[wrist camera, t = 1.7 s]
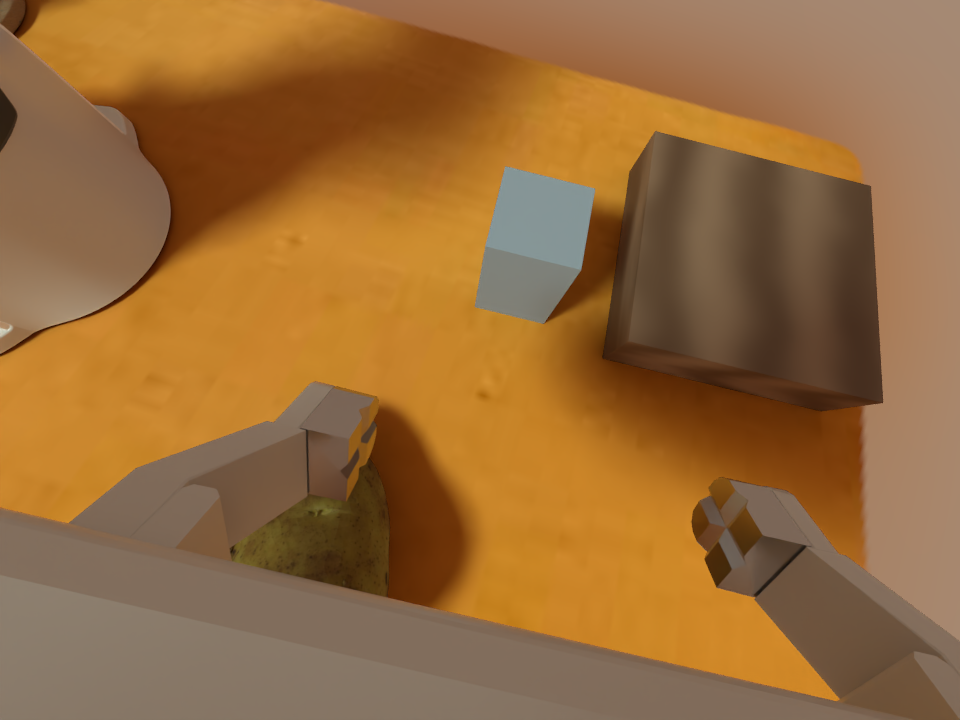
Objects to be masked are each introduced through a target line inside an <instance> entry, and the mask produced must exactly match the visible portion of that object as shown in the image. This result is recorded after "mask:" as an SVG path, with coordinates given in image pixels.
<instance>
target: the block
mask: <svg viewBox="0 0 960 720" xmlns="http://www.w3.org/2000/svg"><path fill="white" fill-rule="evenodd" d="M594 193H595V189H594V188H590V187H586V186H582V185H578V184H574V183H570V182H566V181H562V180H558V179H554V178H550V177H546V176H542V175H538V174H534V173H530V172H526V171H522V170H518V169H514V168H510V167H506V166H505V170H504V174H503V178H502V182H501V186H500V190H499V194H498V198H497V202H496V206H495V210H494V214H493V218H492V222H491V226H490V230H489V234H488V238H487V242H486V246H485V252H484V258H483V263H482V269H481V274H480V280H479V286H478V291H477V297H476V303H475V307H477V308H481V309H485V310H489V311H493V312H497V313H502V314H506V315H510V316H514V317H518V318H522V319H526V320H530V321H535V322H539V323H543V324H544V323H545V321H546V320H547V318H548V317H549V315H550V314H551V313H552V311H553V310H554V308H555V307H556V305H557V304H558V303H559V301H560V300H561V298H562V297H563V295H564V294H565V293H566V291H567V290H568V288H569V287H570V285H571V284H572V283H573V281H574V280H575V278H576V277H577V275H578V274H579V273H580V271H581V269H582V263H583V257H584V251H585V245H586V240H587V234H588V228H589V222H590V216H591V210H592V205H593V199H594Z"/></svg>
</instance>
